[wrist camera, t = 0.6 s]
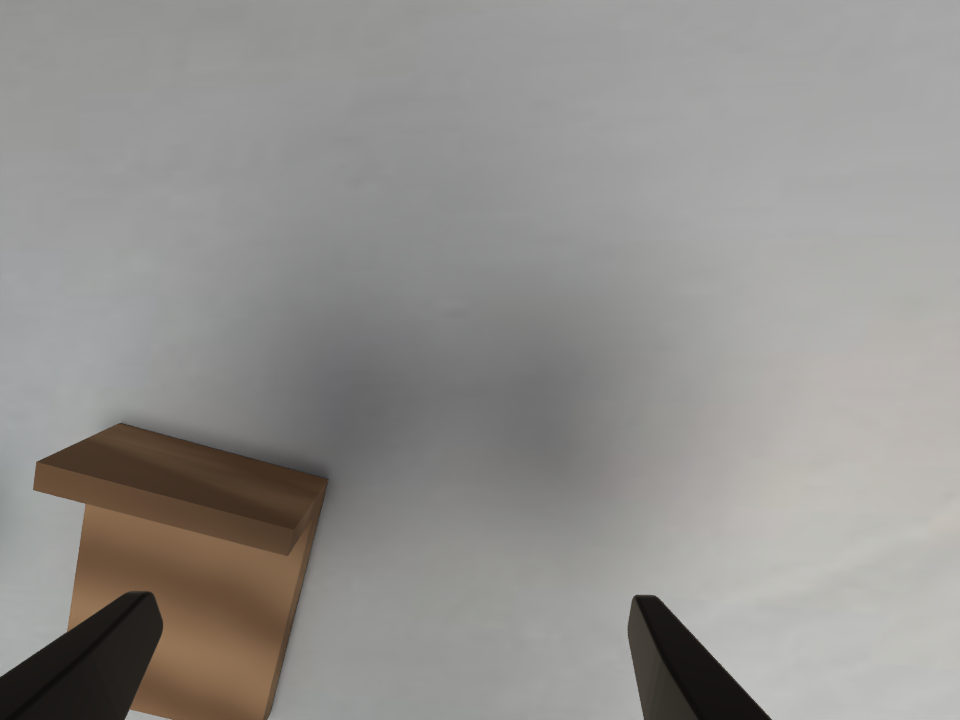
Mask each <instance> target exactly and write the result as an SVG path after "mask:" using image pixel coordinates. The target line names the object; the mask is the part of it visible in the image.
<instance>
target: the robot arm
mask: <svg viewBox="0 0 960 720" xmlns="http://www.w3.org/2000/svg"><path fill="white" fill-rule="evenodd" d="M162 632H163V619H162V616H161V613H160V610H159V607H158V604H157V601H156V598H155V596H154V594H153V593H152V592H150V591H130V592H127V593H125V594H123V595H121V596H120V597H118V598H117V599H115V600H114V601H112V602H111V603H109V604H108V605H106V606H105V607H104V608H102V609H101V610H99V611H98V612H96V613H95V614H93V615H92V616H90V617H89V618H87V619H86V620H84V621H83V622H81V623H80V624H78V625H77V626H75V627H74V628H72V629H71V630H69V631H68V632H66V633H65V634H63V635H62V636H61V637H59V638H58V639H56V640H55V641H53V642H52V643H50V644H49V645H47V646H46V647H44V648H43V649H41V650H40V651H38V652H37V653H35V654H34V655H32V656H31V657H29V658H28V659H26V660H25V661H23V662H22V663H20V664H19V665H18V666H16V667H15V668H13V669H12V670H10V671H9V672H7V673H6V674H4V675H3V676H1V677H0V720H125V718H126V716H127V713H128V711H129V709H130V707H131V705H132V702H133V700H134V698H135V695H136V693H137V691H138V688H139V686H140V684H141V682H142V679H143V677H144V675H145V672H146V670H147V668H148V666H149V663H150V661H151V659H152V656H153V654H154V652H155V649H156V647H157V645H158V643H159V640H160V638H161V635H162ZM628 639H629V645H630V650H631V655H632V660H633V665H634V670H635V675H636V681H637V686H638V691H639V696H640V701H641V706H642V712H643V716H644V720H772V719H771V718H770V717H769V716H768V715H767V714H766V713H765V712H764V711H763V709H762V708H761V707H760V706H759V705H758V704H757V703H756V702H755V701H754V700H753V699H752V698H751V697H750V696H749V694H748V693H747V692H746V691H745V690H744V689H743V688H742V687H741V686H740V685H739V684H738V683H737V682H736V680H735V679H734V678H733V677H732V676H731V675H730V674H729V673H728V672H727V671H726V670H725V669H724V668H723V667H722V665H721V664H720V663H719V662H718V661H717V660H716V659H715V658H714V657H713V656H712V655H711V654H710V653H709V652H708V650H707V649H706V648H705V647H704V646H703V645H702V644H701V643H700V642H699V641H698V640H697V639H696V638H695V636H694V635H693V634H692V633H691V632H690V631H689V630H688V629H687V628H686V627H685V626H684V625H683V624H682V623H681V621H680V620H679V619H678V618H677V617H676V616H675V615H674V614H673V613H672V612H671V611H670V610H669V609H668V608H667V606H666V605H665V604H664V603H663V602H662V601H661V600H660V599H659V598H658V597H656V596H654V595H635V596H634V597H633V599H632V603H631V609H630V616H629V622H628Z"/></svg>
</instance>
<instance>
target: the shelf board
mask: <svg viewBox="0 0 960 720" xmlns="http://www.w3.org/2000/svg"><path fill="white" fill-rule="evenodd" d="M327 483H328V479H325V478H321V477H317V476H313V475H310V474H306V473H302V472H299V471H295V470H291V469H288V468H284V467H280V466H277V465H273V464H269V463H265V462H262V461H258V460H254V459H251V458H247V457H243V456H240V455H236V454H232V453H228V452H225V451H221V450H217V449H214V448H210V447H206V446H203V445H199V444H195V443H191V442H188V441H184V440H180V439H177V438H173V437H169V436H166V435H162V434H158V433H154V432H151V431H147V430H143V429H140V428H136V427H132V426H129V425H125V424H121V423H119V424H117V425H115V426H113V427H110V428H108V429H106V430H104V431H102V432H100V433H98V434H95V435H93V436H91V437H89V438H87V439H85V440H83V441H80V442H78V443H76V444H74V445H72V446H70V447H67V448H65V449H63V450H61V451H59V452H57V453H55V454H52V455H50V456H48V457H46V458H44V459H42V460H40V461H37V462H36V470H35V478H34V487H33V490H35V491H39V492H43V493H47V494H51V495H54V496H58V497H62V498H66V499H70V500H74V501H77V502H81V503H85V504H86V505H85V512H84V519H83V526H82V533H81V540H80V547H79V554H78V561H77V568H76V575H75V582H74V589H73V596H72V603H71V609H70V616H69V623H68V630H67V632H68V631H69V630H71V629H72V628H74V627H75V626H77V625H78V624H80V623H81V622H83V621H84V620H86V619H87V618H89V617H90V616H92V615H93V614H95V613H96V612H98V611H99V610H101V609H102V608H104V607H105V606H106V605H108V604H109V603H111V602H112V601H114V600H115V599H117V598H118V597H120V596H121V595H123V594H125V593H127V592H130V591H150V592H152V593H153V594H154V596H155V598H156V601H157V604H158V607H159V610H160V613H161V616H162V619H163V632H162V635H161V638H160V640H159V643H158V645H157V647H156V649H155V652H154V654H153V656H152V659H151V661H150V663H149V666H148V668H147V670H146V672H145V675H144V677H143V679H142V682H141V684H140V686H139V688H138V691H137V693H136V695H135V698H134V700H133V702H132V705H131V707H130V709H131V710H135V711H139V712H143V713H147V714H151V715H156V716H160V717H164V718H168V719H172V720H267V719H268V717H269V715H270V712H271V708H272V704H273V700H274V696H275V692H276V688H277V683H278V679H279V675H280V671H281V667H282V663H283V659H284V655H285V651H286V647H287V643H288V639H289V635H290V631H291V627H292V623H293V619H294V615H295V611H296V607H297V603H298V599H299V595H300V591H301V587H302V583H303V579H304V575H305V571H306V567H307V563H308V559H309V555H310V551H311V547H312V543H313V539H314V535H315V531H316V527H317V523H318V519H319V515H320V511H321V507H322V503H323V499H324V495H325V491H326V487H327Z"/></svg>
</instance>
